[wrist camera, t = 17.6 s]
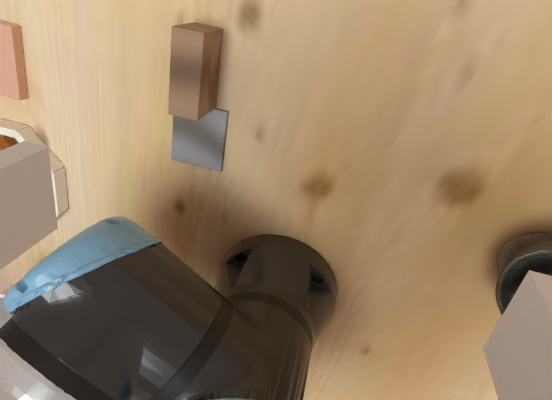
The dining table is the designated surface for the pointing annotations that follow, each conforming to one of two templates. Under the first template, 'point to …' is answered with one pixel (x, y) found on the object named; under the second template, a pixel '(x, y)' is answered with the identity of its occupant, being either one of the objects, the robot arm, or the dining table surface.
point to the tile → (12, 62)
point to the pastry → (7, 142)
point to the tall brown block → (196, 96)
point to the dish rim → (57, 167)
